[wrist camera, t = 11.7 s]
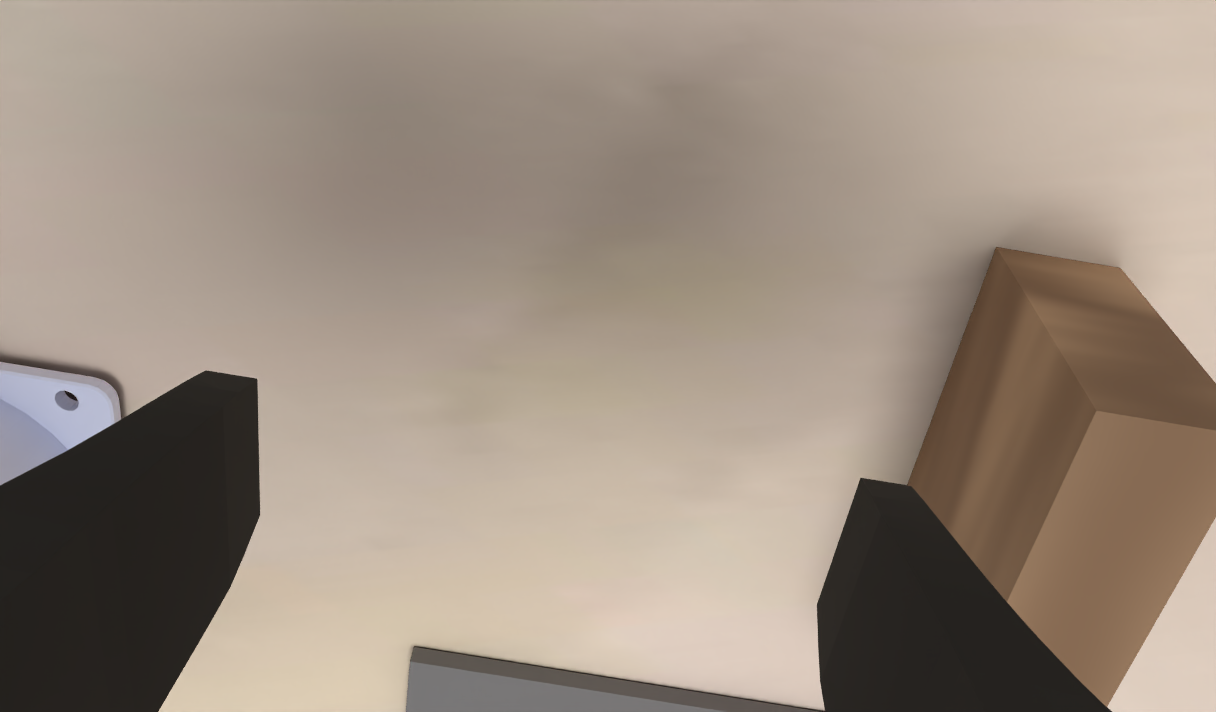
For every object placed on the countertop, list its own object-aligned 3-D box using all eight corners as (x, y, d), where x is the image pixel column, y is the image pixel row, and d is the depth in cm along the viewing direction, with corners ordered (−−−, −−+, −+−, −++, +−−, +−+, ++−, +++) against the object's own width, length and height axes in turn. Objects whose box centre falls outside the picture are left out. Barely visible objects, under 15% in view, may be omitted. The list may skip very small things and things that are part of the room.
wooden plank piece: (857, 613, 26) (899, 830, 21) (994, 245, 21) (1096, 410, 16) (957, 629, 26) (1024, 850, 21) (1118, 266, 21) (1261, 438, 16)
